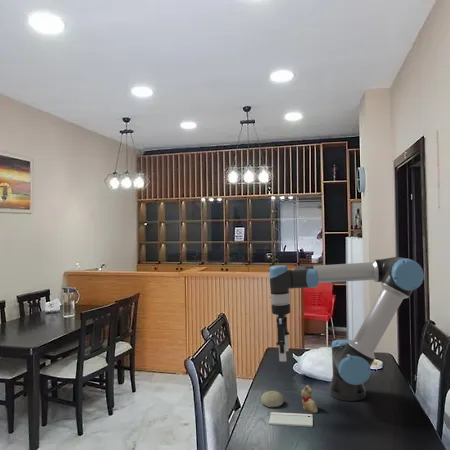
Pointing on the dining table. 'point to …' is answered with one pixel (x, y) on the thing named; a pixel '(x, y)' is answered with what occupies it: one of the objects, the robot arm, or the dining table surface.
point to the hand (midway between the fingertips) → (284, 355)
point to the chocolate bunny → (308, 400)
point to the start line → (291, 414)
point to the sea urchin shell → (272, 399)
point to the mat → (291, 420)
